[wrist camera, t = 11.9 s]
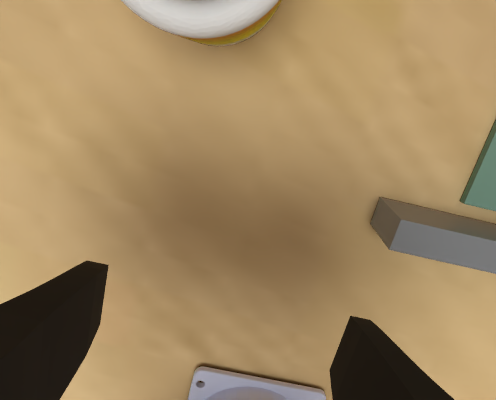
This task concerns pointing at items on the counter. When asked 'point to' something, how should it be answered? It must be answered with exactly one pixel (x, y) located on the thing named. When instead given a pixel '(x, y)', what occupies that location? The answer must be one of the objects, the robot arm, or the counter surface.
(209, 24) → the supplement bottle
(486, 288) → the counter surface
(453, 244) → the low wall
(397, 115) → the counter surface
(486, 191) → the rubber mat
